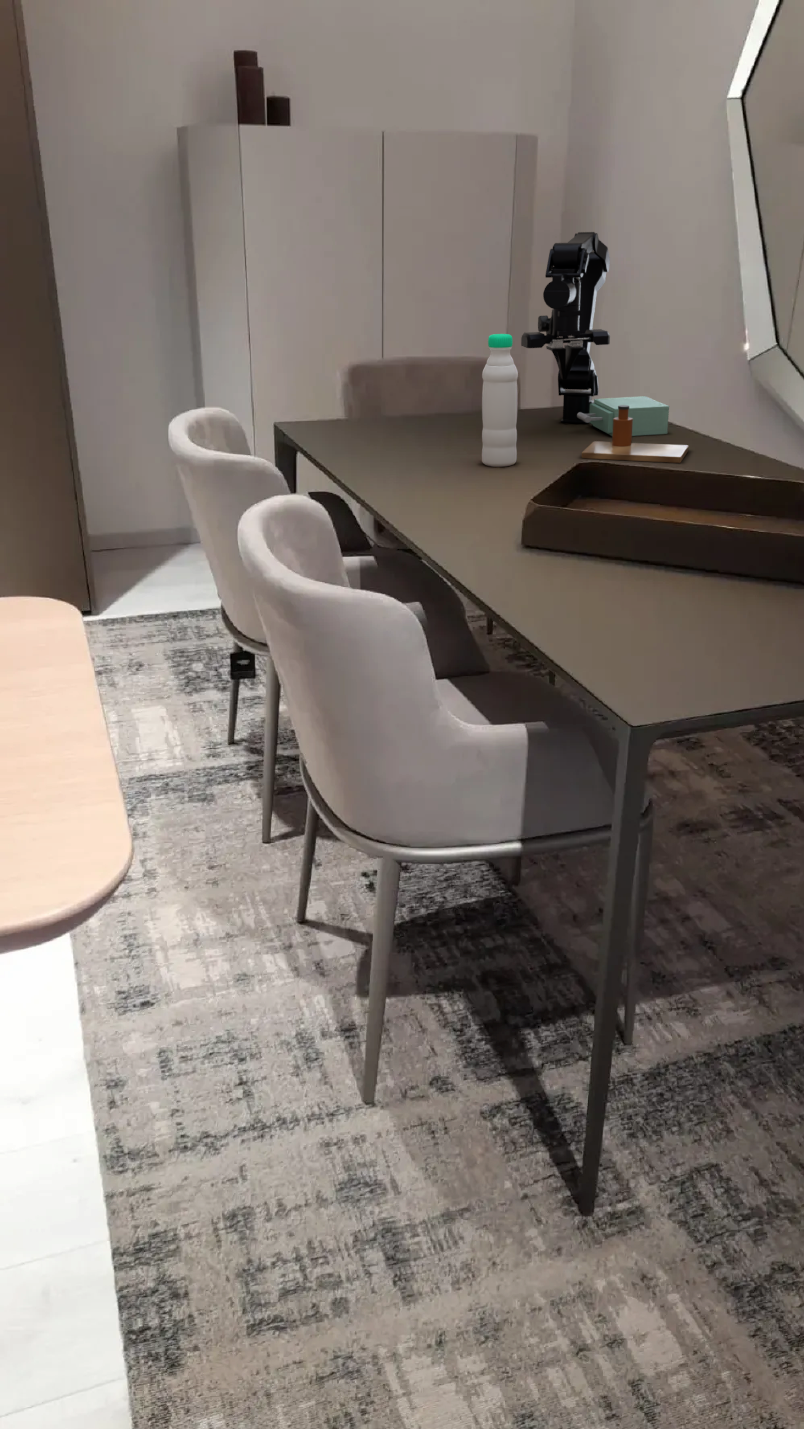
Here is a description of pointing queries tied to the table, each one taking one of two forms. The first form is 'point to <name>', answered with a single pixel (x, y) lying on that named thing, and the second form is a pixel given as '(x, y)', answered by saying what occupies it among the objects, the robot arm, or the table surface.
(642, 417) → the cabinet
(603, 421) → the drawer
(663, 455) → the board
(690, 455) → the table surface
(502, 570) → the table surface
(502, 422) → the water bottle
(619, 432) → the bottle
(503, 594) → the table surface
